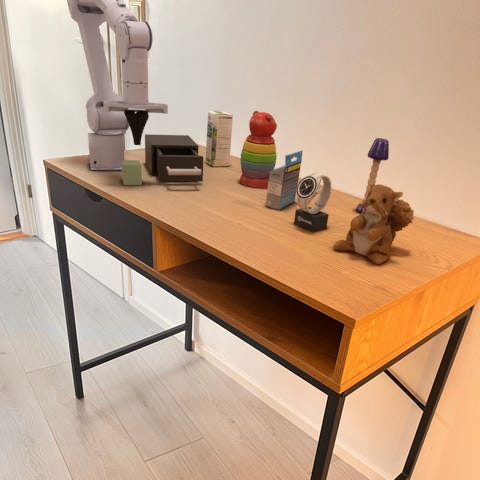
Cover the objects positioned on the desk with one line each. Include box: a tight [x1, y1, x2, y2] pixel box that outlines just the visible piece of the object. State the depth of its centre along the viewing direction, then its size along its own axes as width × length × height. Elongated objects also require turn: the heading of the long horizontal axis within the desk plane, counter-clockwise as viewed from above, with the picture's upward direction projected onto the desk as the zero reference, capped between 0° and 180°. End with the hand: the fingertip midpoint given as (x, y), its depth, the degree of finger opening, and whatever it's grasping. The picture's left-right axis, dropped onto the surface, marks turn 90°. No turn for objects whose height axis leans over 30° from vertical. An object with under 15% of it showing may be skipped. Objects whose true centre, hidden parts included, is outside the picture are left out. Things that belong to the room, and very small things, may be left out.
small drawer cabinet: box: [144, 133, 199, 177], centre depth 135 cm, size 13×12×8 cm
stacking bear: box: [239, 110, 278, 189], centre depth 127 cm, size 11×10×18 cm
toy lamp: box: [355, 137, 390, 215], centre depth 113 cm, size 5×5×17 cm
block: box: [121, 159, 143, 186], centre depth 122 cm, size 4×4×5 cm
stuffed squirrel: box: [332, 182, 415, 265], centre depth 92 cm, size 10×14×13 cm
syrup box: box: [205, 110, 234, 168], centre depth 143 cm, size 6×6×14 cm
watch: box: [293, 172, 332, 233], centre depth 102 cm, size 6×8×11 cm
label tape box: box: [265, 150, 303, 210], centre depth 114 cm, size 9×4×12 cm, turn 149°
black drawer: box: [154, 148, 204, 183], centre depth 126 cm, size 17×11×6 cm, turn 17°
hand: (137, 144), depth 119 cm, fingers closed
